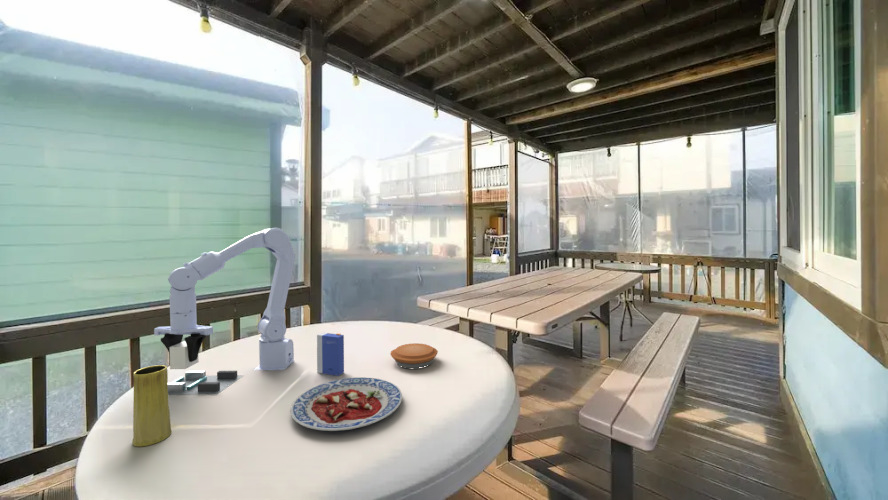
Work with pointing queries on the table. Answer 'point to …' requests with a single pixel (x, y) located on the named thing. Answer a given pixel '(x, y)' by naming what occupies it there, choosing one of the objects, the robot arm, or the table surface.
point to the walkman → (330, 353)
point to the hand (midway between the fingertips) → (184, 360)
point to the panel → (194, 391)
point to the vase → (151, 406)
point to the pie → (414, 355)
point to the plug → (180, 356)
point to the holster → (216, 385)
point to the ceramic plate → (346, 404)
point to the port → (189, 375)
